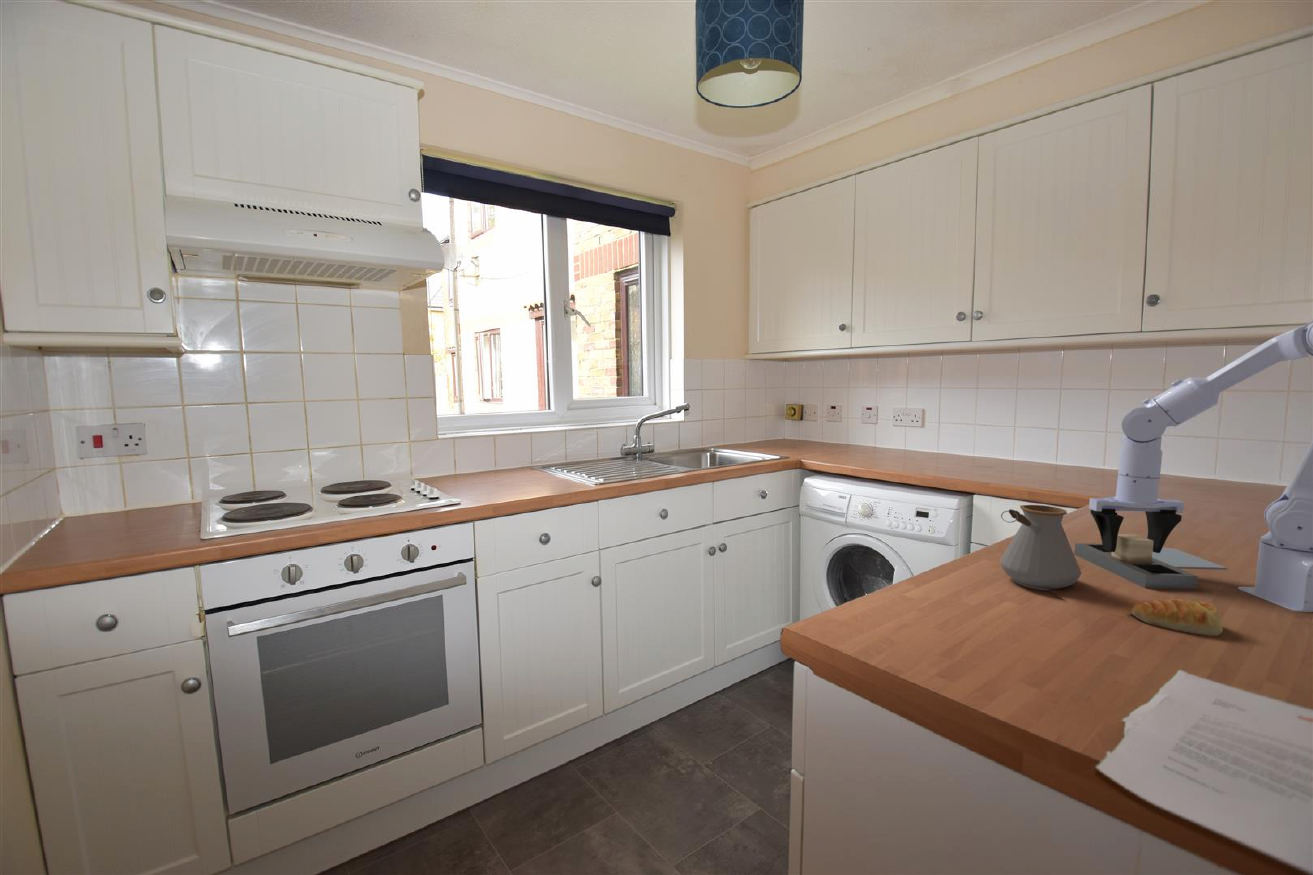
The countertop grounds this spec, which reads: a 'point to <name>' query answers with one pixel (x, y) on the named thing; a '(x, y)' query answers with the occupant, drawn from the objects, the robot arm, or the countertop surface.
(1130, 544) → the peg
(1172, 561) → the mat
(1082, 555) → the tray
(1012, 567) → the coffee pot
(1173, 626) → the pastry
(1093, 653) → the countertop surface
